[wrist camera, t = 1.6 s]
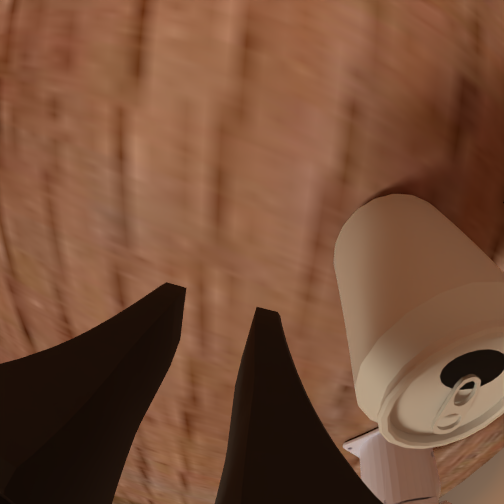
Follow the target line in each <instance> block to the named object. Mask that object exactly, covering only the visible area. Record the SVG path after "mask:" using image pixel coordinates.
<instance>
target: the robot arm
mask: <svg viewBox="0 0 504 504" xmlns="http://www.w3.org/2000/svg"><path fill="white" fill-rule="evenodd" d="M185 294H186V288H184V287H181V286H177V285H174V284H170V283H167V282H166V283H165V284H163V285H161V286H160V287H158V288H157V289H155V290H154V291H152V292H151V293H149V294H148V295H146V296H145V297H143V298H142V299H140V300H139V301H137V302H136V303H134V304H133V305H131V306H130V307H128V308H126V309H125V310H123V311H122V312H120V313H119V314H117V315H115V316H114V317H112V318H110V319H109V320H107V321H105V322H103V323H101V324H100V325H98V326H96V327H94V328H93V329H91V330H89V331H87V332H85V333H83V334H81V335H79V336H77V337H75V338H73V339H71V340H69V341H66V342H64V343H62V344H59V345H57V346H55V347H52V348H49V349H47V350H44V351H41V352H38V353H35V354H32V355H29V356H26V357H23V358H20V359H17V360H13V361H9V362H6V363H2V364H0V504H112V501H113V498H114V495H115V492H116V488H117V485H118V482H119V479H120V476H121V473H122V470H123V467H124V464H125V461H126V458H127V456H128V453H129V450H130V448H131V445H132V442H133V439H134V437H135V434H136V432H137V430H138V428H139V425H140V423H141V421H142V419H143V417H144V415H145V413H146V412H147V410H148V408H149V406H150V404H151V402H152V400H153V398H154V396H155V394H156V392H157V391H158V389H159V387H160V385H161V383H162V381H163V379H164V377H165V375H166V373H167V371H168V369H169V367H170V365H171V362H172V360H173V357H174V355H175V352H176V349H177V346H178V344H179V341H180V336H181V327H182V319H183V310H184V302H185ZM343 448H344V449H346V450H347V451H349V452H351V453H352V454H354V455H356V456H357V457H359V458H360V469H361V479H360V477H359V476H358V475H357V474H356V472H355V471H354V470H353V468H352V467H351V466H350V464H349V463H348V462H347V460H346V459H345V458H344V456H343V455H342V453H341V452H340V451H339V449H338V448H337V447H336V445H335V444H334V442H333V440H332V439H331V437H330V436H329V434H328V432H327V431H326V429H325V428H324V426H323V424H322V422H321V421H320V419H319V417H318V415H317V414H316V412H315V410H314V408H313V406H312V404H311V402H310V400H309V398H308V396H307V394H306V391H305V389H304V387H303V385H302V382H301V380H300V378H299V375H298V373H297V370H296V367H295V365H294V362H293V359H292V357H291V354H290V351H289V348H288V345H287V342H286V338H285V335H284V331H283V327H282V323H281V318H280V315H279V313H278V312H275V311H271V310H267V309H263V308H259V307H257V308H256V311H255V314H254V318H253V321H252V325H251V328H250V332H249V335H248V338H247V342H246V345H245V349H244V352H243V355H242V359H241V364H240V368H239V372H238V376H237V380H236V384H235V392H234V399H233V407H232V415H231V423H230V431H229V439H228V447H227V453H226V459H225V464H224V468H223V472H222V477H221V481H220V485H219V489H218V493H217V497H216V501H215V504H440V503H439V500H438V498H439V496H440V492H441V485H440V480H439V475H438V470H437V465H436V461H435V456H434V452H433V448H434V447H432V448H426V449H414V448H404V447H401V446H398V445H395V444H393V443H390V442H388V441H387V440H386V439H385V438H384V437H383V435H382V434H381V433H380V432H379V428H378V429H376V430H373V431H371V432H369V433H367V434H364V435H362V436H360V437H357V438H355V439H353V440H350V441H348V442H345V443H344V444H343ZM441 504H452V503H449V502H447V501H443V502H441Z"/></svg>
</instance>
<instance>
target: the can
mask: <svg viewBox="0 0 504 504" xmlns="http://www.w3.org/2000/svg"><path fill="white" fill-rule="evenodd" d="M334 267H335V272H336V277H337V282H338V288H339V293H340V298H341V304H342V309H343V315H344V321H345V327H346V333H347V339H348V345H349V351H350V358H351V365H352V372H353V379H354V386H355V392H356V397H357V402H358V406H359V407H360V408H361V410H362V411H363V412H364V413H365V414H366V415H367V416H368V417H369V419H371V420H373V421H375V422H377V423H378V427H379V432H380V433H381V434H382V435H383V437H384V438H385V439H386V440H387V441H388V442H390V443H393V444H395V445H398V446H401V447H404V448H414V449H426V448H432V447H438V446H444V445H447V444H450V443H452V442H455V441H458V440H461V439H464V438H466V437H468V436H470V435H472V434H473V433H475V432H477V431H479V430H481V429H483V428H484V427H486V426H487V425H489V424H490V423H491V422H493V421H494V420H495V419H497V418H498V417H499V416H501V415H502V414H503V413H504V272H503V271H502V270H501V269H500V268H499V267H498V266H497V265H496V264H495V263H494V262H493V261H492V260H491V259H490V258H489V257H488V256H487V255H486V254H485V253H484V252H483V251H482V250H481V249H480V248H479V247H478V246H477V245H476V244H475V243H474V242H473V241H472V240H471V239H470V238H469V237H467V236H466V235H465V234H464V233H463V232H462V231H461V230H460V229H459V228H458V227H457V226H456V225H454V224H453V223H452V222H451V221H450V220H449V219H448V218H447V217H445V216H444V215H443V214H442V213H441V212H440V211H439V210H437V209H436V208H435V207H434V206H433V205H431V204H430V203H429V202H427V201H425V200H422V199H420V198H418V197H416V196H414V195H405V194H391V195H387V196H383V197H379V198H375V199H373V200H371V201H370V202H368V203H367V204H365V205H364V206H362V207H360V208H359V209H357V210H356V211H355V212H354V214H353V215H352V216H351V217H350V218H349V219H348V221H347V222H346V223H345V224H344V225H343V227H342V229H341V232H340V234H339V236H338V239H337V241H336V243H335V251H334Z"/></svg>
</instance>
